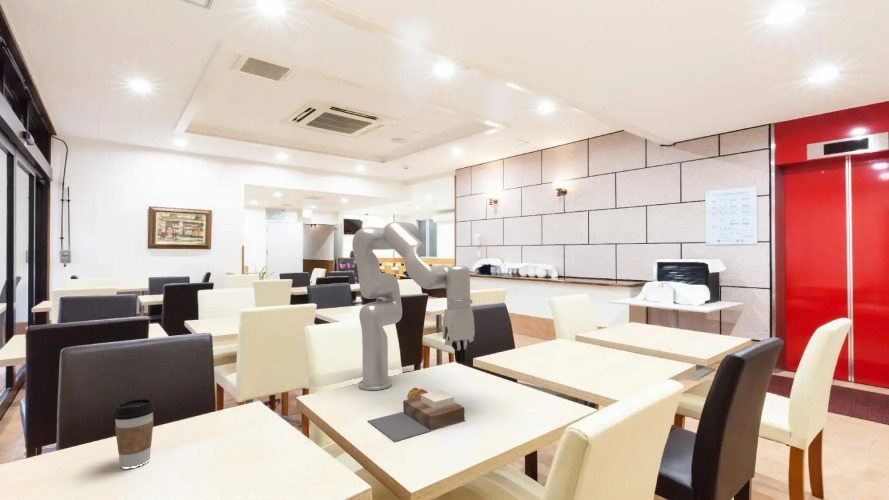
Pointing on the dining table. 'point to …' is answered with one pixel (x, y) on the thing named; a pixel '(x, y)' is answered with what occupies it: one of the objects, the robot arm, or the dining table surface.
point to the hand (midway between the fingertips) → (460, 361)
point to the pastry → (416, 393)
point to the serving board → (433, 413)
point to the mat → (398, 426)
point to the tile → (437, 399)
